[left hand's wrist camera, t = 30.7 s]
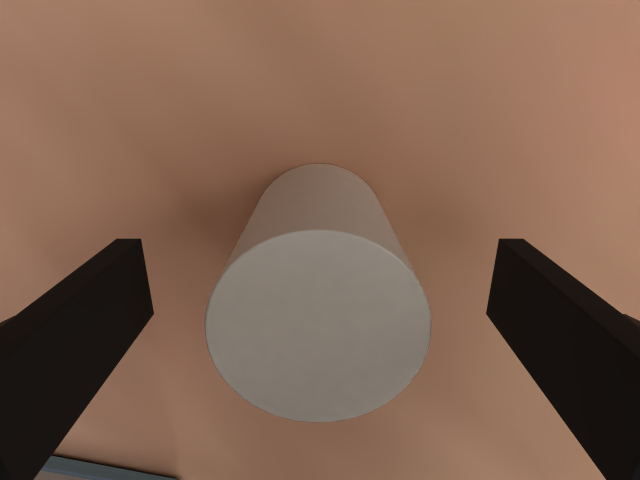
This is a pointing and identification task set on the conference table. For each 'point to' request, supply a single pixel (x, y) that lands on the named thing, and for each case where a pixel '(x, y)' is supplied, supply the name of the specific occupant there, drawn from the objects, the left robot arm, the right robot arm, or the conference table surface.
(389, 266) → the can
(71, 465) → the book
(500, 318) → the left robot arm
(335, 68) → the conference table surface
